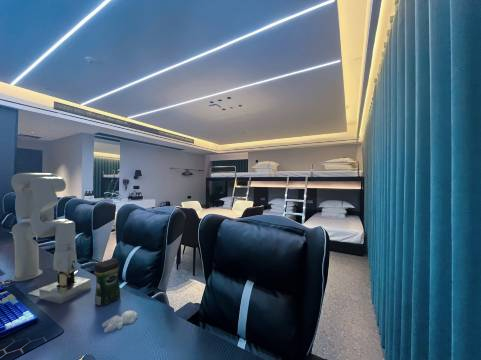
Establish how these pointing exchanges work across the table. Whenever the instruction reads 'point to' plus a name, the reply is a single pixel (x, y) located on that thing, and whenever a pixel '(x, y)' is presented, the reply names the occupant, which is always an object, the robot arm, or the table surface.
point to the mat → (36, 292)
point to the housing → (64, 290)
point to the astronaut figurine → (119, 321)
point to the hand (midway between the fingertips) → (66, 283)
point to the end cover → (63, 279)
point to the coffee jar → (107, 282)
